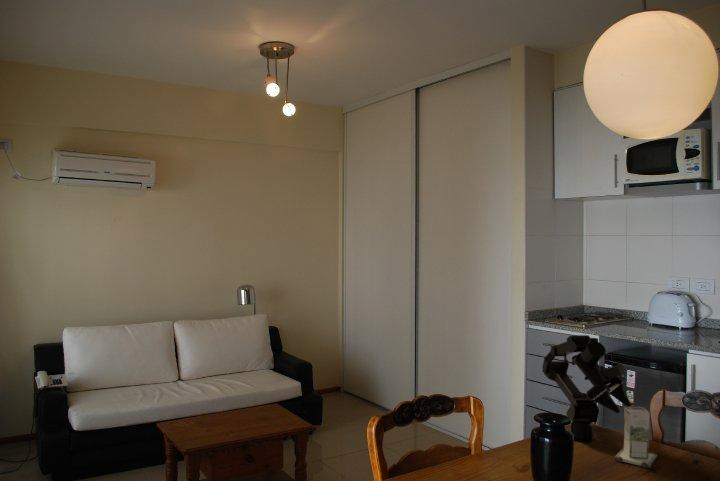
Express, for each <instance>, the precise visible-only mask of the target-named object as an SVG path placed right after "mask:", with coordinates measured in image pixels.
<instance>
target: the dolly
mask: <svg viewBox="0 0 720 481" xmlns="http://www.w3.org/2000/svg"><path fill="white" fill-rule="evenodd" d="M657 459H658V454H656V452H654V451H650V452H649V456H648V459H645V458H629V456H628V455H627V454H626V453H625V452H624V447H622V448H621V449H620V451H618V452H617V454H616V455H615V456H614V460H615V461H617V463H622V462H623V463H628V464H631V465H636V466H641V467H642V468H644V469H647V468H650V469H651V468H652V466H653V465H654V464H655V462H656V460H657Z"/></svg>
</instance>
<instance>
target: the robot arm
mask: <svg viewBox="0 0 720 481" xmlns="http://www.w3.org/2000/svg"><path fill="white" fill-rule="evenodd" d="M548 352H549V353H547V354H546V356H545V357H544V358H543V362H542V373H543V374H544V376H546V378H547V379H548V380H551V381H552V382H555V383H556V384H557V386H558V387H559V389H560V390H561V392H562V393H563V395H564V396H565V397H566V398H567V401H569V403H570V406H569V407H568V409H567V411H566V413H565V414H566V418H567V417H568V418H570V419H571V420H572V423H571V422H570V433H571V432H572V433H573V435H574V440H573V441H576V442H581V443H585V444H589V443H590V442H592V441H593V440H594V439H595V426H593V423H598V419H599V413H600V409H599V405H600V406H603V407H605V408H607V409H609V410H611V411H613V412H614V413H616V414H619V413H621V410H620V409H619V407H618V405H617V404H616V402H615V401H614V398H615V399H616V400H617V401H619V402H621V404H623V405H624V406H625V407H632V403H631V401H630V399H629V397H628V395H627V392H626V391H625V386H626V378H625V377H624V376H623V375H626V372H625V366H624V365H623V364H622V363H621V362H619V361H616V362H612V364H611V367H608V368H607V367H605V366H603V365H599V361H600V360H601V359H602V358H603V357H604V356H605V354H606V347H605V346H604V344H602V342H599V341H597V338H593V337H592V338H590V335H588V334H581V335H577V334H575V335H572V334H571V335H570V336H568V337H567V338H566V341H564V342H561V343H559V344H555V345H552V346H550V351H548ZM575 353H578V354H575ZM571 354H575V355H573V356H572V357H571V365H572V366H575V365H576V367H577V368H578V369H579V370H580V372H582V374H583V375H584V380H585V381H589V383H591V385H592V387H591V388H589V389H588V390H587V391H586V393H582V392H581V391H580V390H579V388H578V387H577V385H576V384H575V383H574V381H573V380H572V379H571V377H570V376H569V375H568V370H569V366H570V363H569V361H568V358H567V356H568V355H571ZM555 357H563V360H554V359H555ZM612 397H613V398H612ZM597 403H598V404H599V405H598V404H597Z"/></svg>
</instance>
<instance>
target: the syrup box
mask: <svg viewBox="0 0 720 481" xmlns="http://www.w3.org/2000/svg"><path fill="white" fill-rule="evenodd" d="M623 408H624V410H623V411H624V412H623V448H624V452H625V453H626V454H627V455H628V456H629V458H645V459H648V456H649V453H650V452H649V445H650V415H651V414H650V412H649V411H648V410H647V409H646V408H645V407H643V406H630V407H627V406H624V407H623Z"/></svg>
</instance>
